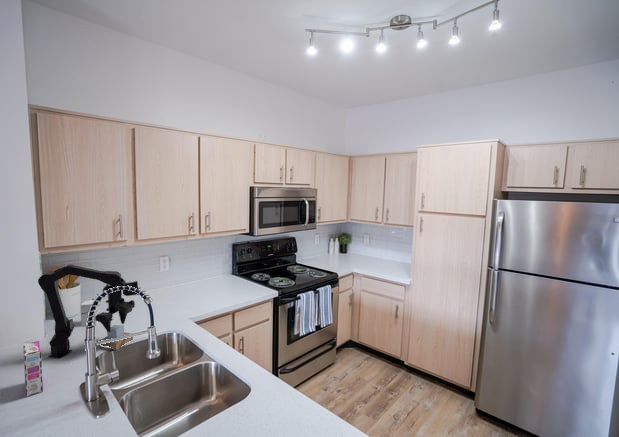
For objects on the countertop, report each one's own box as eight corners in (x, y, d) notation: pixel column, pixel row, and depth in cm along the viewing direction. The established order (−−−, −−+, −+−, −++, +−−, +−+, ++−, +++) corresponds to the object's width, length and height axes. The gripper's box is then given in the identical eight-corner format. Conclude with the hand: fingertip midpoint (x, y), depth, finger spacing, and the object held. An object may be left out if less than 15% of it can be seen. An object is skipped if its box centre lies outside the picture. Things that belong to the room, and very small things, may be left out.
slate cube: (116, 339, 149) (116, 330, 149) (107, 339, 150) (107, 329, 149) (124, 334, 154) (123, 325, 154) (115, 334, 155) (114, 324, 154)
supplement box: (80, 326, 171) (79, 304, 169) (86, 321, 178) (85, 300, 177) (95, 325, 172) (94, 303, 171) (100, 319, 180) (100, 299, 179)
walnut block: (116, 350, 146) (116, 343, 146) (99, 348, 149) (99, 340, 148) (133, 341, 156) (132, 333, 156) (117, 338, 158) (116, 331, 158)
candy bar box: (44, 391, 116) (41, 350, 114) (26, 397, 112) (23, 355, 111) (41, 378, 124) (39, 339, 122) (25, 383, 120) (22, 344, 119)
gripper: (115, 305, 140) (116, 337, 141) (142, 292, 158) (143, 321, 160) (93, 303, 141) (95, 335, 143) (123, 291, 160) (124, 319, 161)
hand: (116, 327), depth 152 cm, fingers open, 9 cm apart
